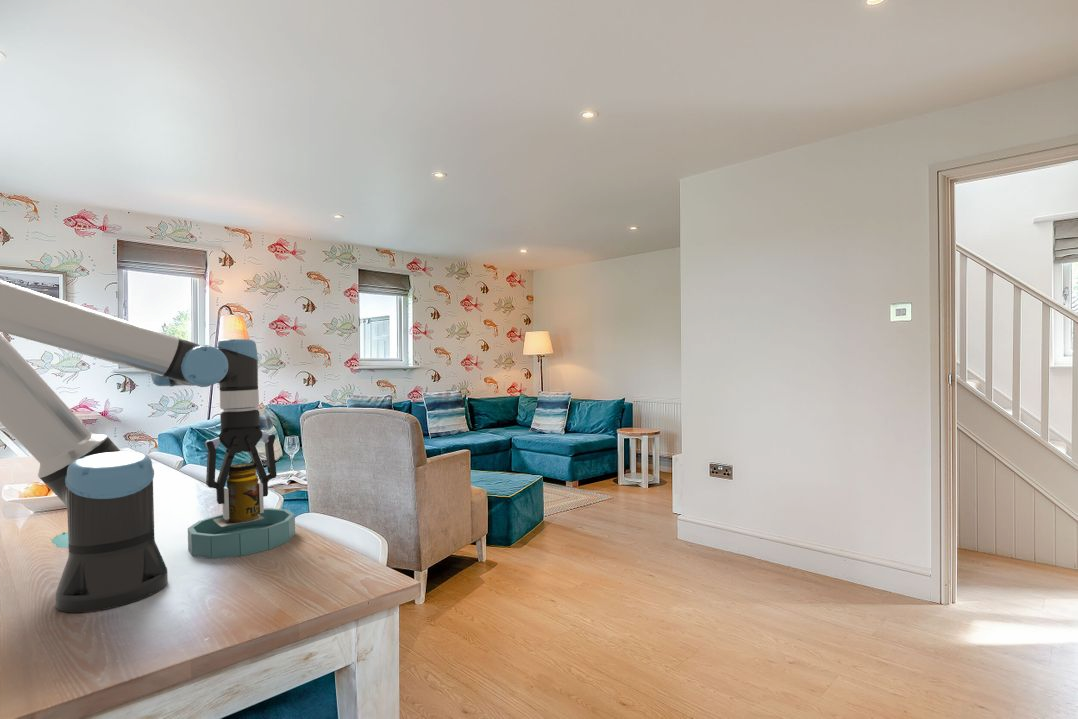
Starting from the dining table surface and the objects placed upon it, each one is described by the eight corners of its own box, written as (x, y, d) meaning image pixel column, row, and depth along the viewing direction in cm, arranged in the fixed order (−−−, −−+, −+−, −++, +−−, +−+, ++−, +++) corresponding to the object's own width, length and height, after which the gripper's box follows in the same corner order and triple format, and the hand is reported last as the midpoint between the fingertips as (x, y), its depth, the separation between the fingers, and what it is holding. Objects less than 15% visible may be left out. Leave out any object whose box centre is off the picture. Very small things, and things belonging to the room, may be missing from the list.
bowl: (305, 541, 119) (304, 520, 119) (198, 565, 106) (197, 542, 106) (279, 522, 134) (279, 503, 134) (183, 541, 121) (182, 521, 121)
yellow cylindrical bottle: (265, 519, 120) (263, 464, 120) (221, 527, 114) (219, 470, 114) (255, 512, 125) (253, 460, 125) (213, 521, 120) (211, 466, 120)
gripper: (281, 405, 129) (284, 503, 129) (186, 412, 117) (189, 520, 117) (290, 406, 123) (294, 509, 124) (191, 414, 111) (195, 528, 111)
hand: (243, 514), depth 120 cm, fingers closed on yellow cylindrical bottle, 6 cm apart
